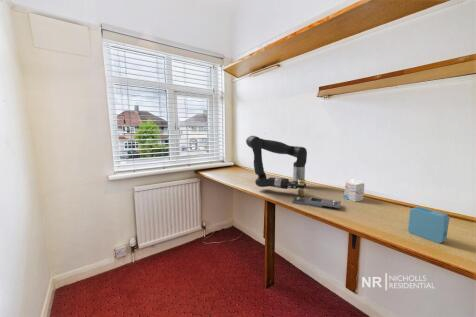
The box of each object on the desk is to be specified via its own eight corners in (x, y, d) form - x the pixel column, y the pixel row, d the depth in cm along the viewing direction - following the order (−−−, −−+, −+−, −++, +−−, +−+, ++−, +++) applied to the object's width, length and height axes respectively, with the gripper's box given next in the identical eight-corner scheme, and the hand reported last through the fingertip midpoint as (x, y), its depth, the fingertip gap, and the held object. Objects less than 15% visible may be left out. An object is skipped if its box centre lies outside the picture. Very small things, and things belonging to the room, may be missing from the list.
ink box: (343, 198, 142) (344, 179, 141) (351, 196, 146) (353, 177, 144) (355, 202, 135) (356, 182, 133) (363, 200, 138) (365, 180, 136)
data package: (446, 241, 87) (450, 214, 86) (442, 244, 85) (446, 217, 83) (411, 229, 98) (414, 205, 96) (407, 232, 96) (410, 207, 94)
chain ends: (292, 202, 134) (292, 196, 134) (295, 198, 142) (295, 193, 141) (340, 210, 121) (340, 203, 120) (340, 205, 128) (341, 199, 128)
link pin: (298, 194, 151) (298, 178, 149) (305, 195, 148) (305, 179, 147) (296, 196, 146) (296, 180, 145) (303, 197, 144) (304, 181, 142)
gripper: (278, 180, 146) (303, 183, 138) (284, 176, 159) (307, 178, 151) (278, 190, 147) (302, 194, 139) (284, 185, 160) (306, 188, 152)
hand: (305, 186), depth 145 cm, fingers open, 5 cm apart
